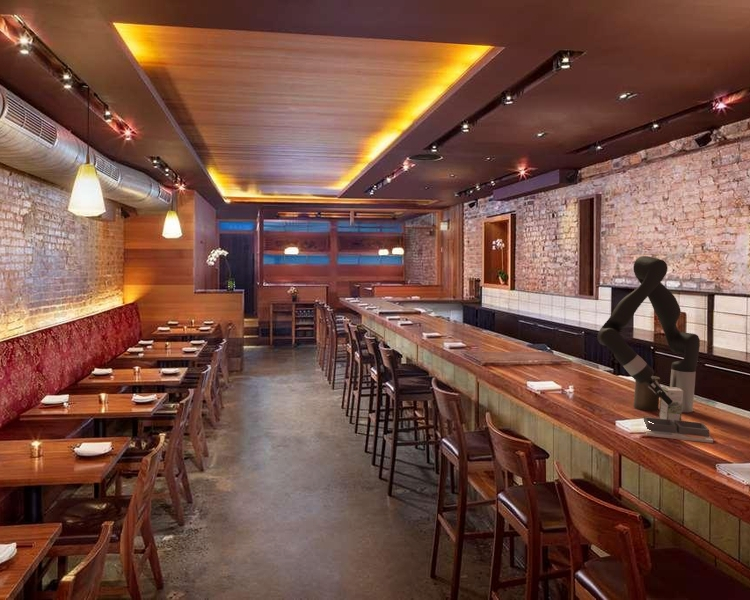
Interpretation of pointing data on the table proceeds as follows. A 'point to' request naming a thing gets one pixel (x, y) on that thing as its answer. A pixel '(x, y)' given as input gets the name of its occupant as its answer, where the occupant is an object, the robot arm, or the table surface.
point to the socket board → (677, 429)
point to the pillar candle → (646, 396)
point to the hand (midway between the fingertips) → (668, 400)
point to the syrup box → (675, 407)
